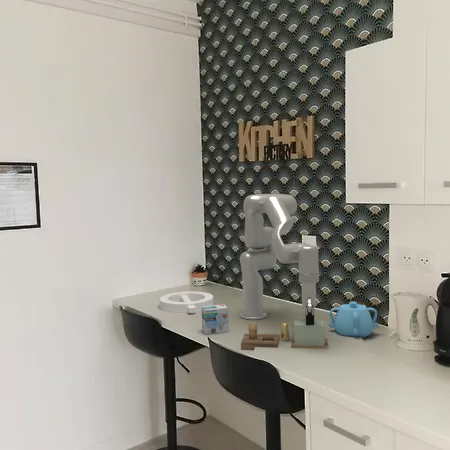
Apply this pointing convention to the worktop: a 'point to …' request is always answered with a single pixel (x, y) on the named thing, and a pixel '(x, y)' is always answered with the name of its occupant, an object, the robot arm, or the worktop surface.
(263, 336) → the build board
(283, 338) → the pin
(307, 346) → the board
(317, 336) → the cover
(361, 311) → the decorative pot
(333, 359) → the worktop surface
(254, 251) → the robot arm
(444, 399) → the worktop surface
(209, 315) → the light bulb box
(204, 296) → the ring with crossbar
